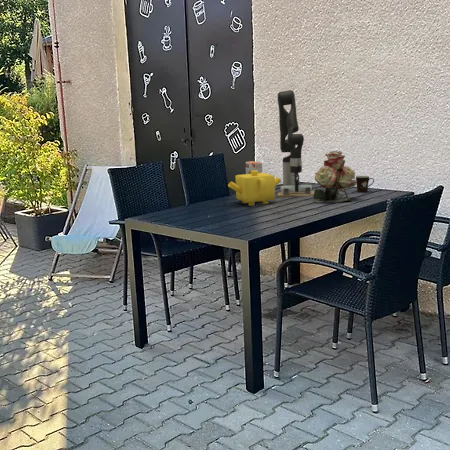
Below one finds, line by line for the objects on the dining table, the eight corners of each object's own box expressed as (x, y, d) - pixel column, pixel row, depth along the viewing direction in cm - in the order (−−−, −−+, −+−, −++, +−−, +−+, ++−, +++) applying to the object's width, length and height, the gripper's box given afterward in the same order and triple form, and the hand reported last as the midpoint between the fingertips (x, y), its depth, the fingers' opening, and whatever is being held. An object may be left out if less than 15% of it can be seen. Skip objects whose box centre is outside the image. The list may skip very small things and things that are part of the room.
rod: (281, 193, 382) (281, 186, 380) (280, 191, 386) (280, 185, 385) (312, 192, 381) (312, 185, 380) (311, 190, 385) (311, 184, 384)
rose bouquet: (312, 203, 352) (312, 153, 346) (316, 195, 380) (316, 149, 373) (356, 203, 346) (356, 152, 340) (357, 195, 374) (357, 148, 367)
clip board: (277, 194, 390) (277, 186, 388) (313, 193, 389) (313, 185, 388) (278, 197, 379) (278, 189, 378) (316, 195, 378) (315, 187, 377)
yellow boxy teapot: (270, 196, 382) (269, 165, 378) (290, 203, 355) (290, 170, 351) (220, 202, 371) (218, 170, 367) (237, 209, 344) (235, 175, 340)
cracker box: (246, 191, 406) (245, 161, 402) (253, 190, 409) (252, 160, 404) (255, 194, 394) (254, 163, 389) (263, 193, 396) (262, 162, 392)
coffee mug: (355, 192, 383) (355, 177, 381) (356, 190, 391) (356, 175, 389) (373, 192, 380) (373, 177, 378) (374, 190, 388) (374, 175, 386)
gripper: (289, 164, 387) (289, 189, 390) (291, 166, 373) (291, 193, 376) (300, 163, 386) (300, 189, 390) (302, 166, 373) (303, 192, 376)
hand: (296, 191), depth 383 cm, fingers closed on rod, 4 cm apart
